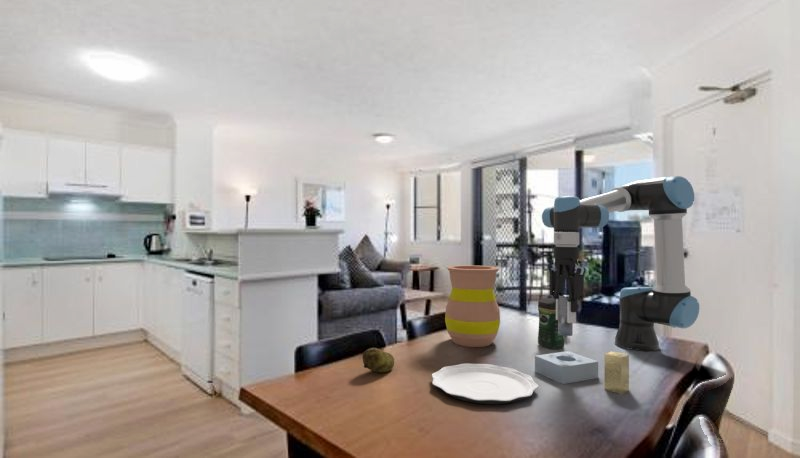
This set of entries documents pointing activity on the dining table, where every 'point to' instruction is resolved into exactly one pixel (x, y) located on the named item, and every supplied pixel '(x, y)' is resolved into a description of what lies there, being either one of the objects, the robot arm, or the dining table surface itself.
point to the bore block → (566, 367)
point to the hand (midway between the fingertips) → (565, 320)
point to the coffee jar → (548, 325)
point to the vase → (472, 306)
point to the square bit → (617, 372)
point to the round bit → (563, 317)
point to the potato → (378, 360)
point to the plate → (484, 383)
